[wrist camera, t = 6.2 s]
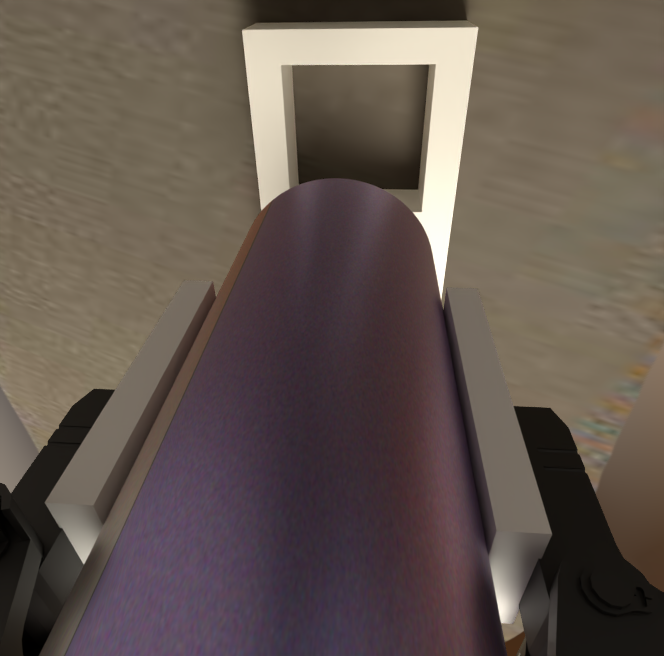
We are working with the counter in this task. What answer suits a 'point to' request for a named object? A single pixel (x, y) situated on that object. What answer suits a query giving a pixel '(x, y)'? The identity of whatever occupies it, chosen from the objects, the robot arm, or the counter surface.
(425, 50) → the white divided tray
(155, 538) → the beverage can
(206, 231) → the counter surface
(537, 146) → the counter surface
